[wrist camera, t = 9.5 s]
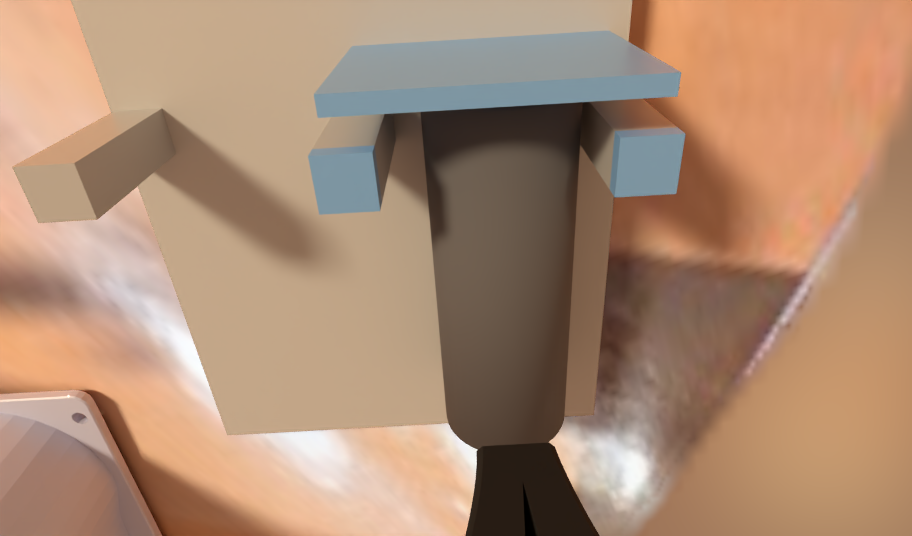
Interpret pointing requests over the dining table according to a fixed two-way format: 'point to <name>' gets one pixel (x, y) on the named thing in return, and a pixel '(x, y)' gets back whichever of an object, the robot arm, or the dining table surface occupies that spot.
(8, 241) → the dining table surface
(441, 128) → the dark brown cylinder post
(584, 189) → the base plate with posts
